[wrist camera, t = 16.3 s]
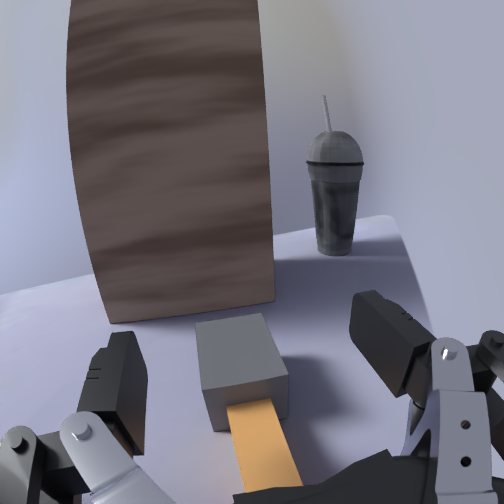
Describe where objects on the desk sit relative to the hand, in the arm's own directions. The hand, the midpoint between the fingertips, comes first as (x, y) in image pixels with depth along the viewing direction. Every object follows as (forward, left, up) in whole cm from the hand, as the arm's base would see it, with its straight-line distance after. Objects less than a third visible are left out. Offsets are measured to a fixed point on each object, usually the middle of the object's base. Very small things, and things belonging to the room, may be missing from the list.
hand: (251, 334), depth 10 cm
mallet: (0, 0, -9) cm, 9 cm away
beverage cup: (+30, +4, -9) cm, 31 cm away
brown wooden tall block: (+14, +15, -8) cm, 22 cm away
